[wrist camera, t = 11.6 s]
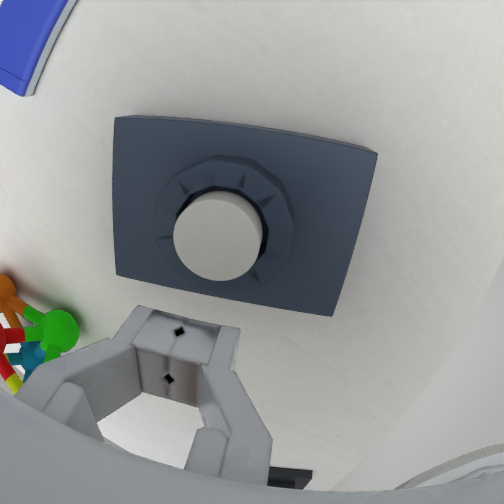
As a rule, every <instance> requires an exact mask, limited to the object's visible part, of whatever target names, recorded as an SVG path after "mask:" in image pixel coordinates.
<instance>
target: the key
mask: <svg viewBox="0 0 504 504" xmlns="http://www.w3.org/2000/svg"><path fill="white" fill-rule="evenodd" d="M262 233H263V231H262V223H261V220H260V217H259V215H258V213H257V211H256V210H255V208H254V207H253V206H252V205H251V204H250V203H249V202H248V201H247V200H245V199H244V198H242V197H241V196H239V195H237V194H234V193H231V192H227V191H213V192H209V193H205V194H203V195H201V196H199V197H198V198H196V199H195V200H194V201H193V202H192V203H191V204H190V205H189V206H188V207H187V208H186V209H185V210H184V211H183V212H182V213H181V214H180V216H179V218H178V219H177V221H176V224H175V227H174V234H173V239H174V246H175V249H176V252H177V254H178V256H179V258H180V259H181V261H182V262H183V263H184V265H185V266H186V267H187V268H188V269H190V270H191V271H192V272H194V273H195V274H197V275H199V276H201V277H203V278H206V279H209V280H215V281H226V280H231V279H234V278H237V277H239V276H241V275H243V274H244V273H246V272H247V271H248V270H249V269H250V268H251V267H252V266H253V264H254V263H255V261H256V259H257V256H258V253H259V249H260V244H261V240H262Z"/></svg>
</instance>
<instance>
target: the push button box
mask: <svg viewBox="0 0 504 504" xmlns="http://www.w3.org/2000/svg"><path fill="white" fill-rule="evenodd" d="M377 156H378V153H376V152H374V151H372V150H371V149H369V148H366V147H362V146H358V145H354V144H350V143H345V142H341V141H336V140H332V139H327V138H322V137H317V136H312V135H307V134H302V133H296V132H291V131H285V130H279V129H273V128H266V127H260V126H253V125H245V124H238V123H230V122H221V121H212V120H201V119H190V118H177V117H161V116H139V115H131V116H122V117H116V118H115V122H114V139H113V172H112V199H113V233H114V251H115V265H116V275H118V276H122V277H126V278H131V279H135V280H139V281H144V282H148V283H153V284H157V285H162V286H167V287H171V288H176V289H181V290H185V291H190V292H195V293H200V294H205V295H210V296H215V297H220V298H225V299H231V300H236V301H241V302H247V303H252V304H257V305H263V306H269V307H274V308H280V309H286V310H292V311H298V312H304V313H310V314H317V315H323V316H330V317H332V316H333V313H334V310H335V307H336V304H337V301H338V298H339V295H340V292H341V289H342V286H343V283H344V280H345V277H346V273H347V270H348V267H349V264H350V260H351V257H352V254H353V250H354V247H355V243H356V240H357V236H358V233H359V229H360V225H361V222H362V218H363V214H364V210H365V207H366V203H367V199H368V195H369V191H370V187H371V182H372V178H373V174H374V170H375V165H376V161H377ZM213 191H227V192H231V193H234V194H237V195H239V196H241V197H242V198H244V199H245V200H247V201H248V202H249V203H250V204H251V205H252V206H253V207H254V208H255V210H256V211H257V213H258V215H259V217H260V220H261V223H262V231H263V233H262V240H261V244H260V249H259V253H258V256H257V259H256V261H255V263H254V264H253V266H252V267H251V268H250V269H249V270H248V271H247V272H246V273H244V274H243V275H241V276H239V277H237V278H234V279H231V280H226V281H215V280H209V279H206V278H203V277H201V276H199V275H197V274H195V273H194V272H192V271H191V270H190V269H188V268H187V267H186V266H185V265H184V263H183V262H182V261H181V259H180V258H179V256H178V254H177V252H176V249H175V246H174V239H173V234H174V227H175V224H176V221H177V219H178V218H179V216H180V214H181V213H182V212H183V211H184V210H185V209H186V208H187V207H188V206H189V205H190V204H191V203H192V202H193V201H194V200H195V199H196V198H198V197H199V196H201V195H203V194H205V193H209V192H213Z"/></svg>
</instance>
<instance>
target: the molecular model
mask: <svg viewBox="0 0 504 504" xmlns="http://www.w3.org/2000/svg"><path fill="white" fill-rule="evenodd" d="M15 312H17V313H18V314H20V315H21V316H23V317H25V318H26V319H28V320H29V321H31V322H32V323H34V324H35V325H37V326H30V327H23V326H22V324H21V323H20V321H19V319H18V317H17V315H16V313H15ZM0 313H4V315H5V317H6V319H7V321H8V323H9V325H10V327H11V328H5V329H3V327H2V324H1V323H0V374H1V375H2V377H3V378H4V380H5V381H6V383H7V384H8V386H9V387H10V388H11V390H12V391H13V392H14V394H16V393H17V392H18V390H19V389H20V388H21V386H22V385H23V384H24V383H25V381H26V380H27V379H28V378H29V376H30V375H31V374H32V373H33V371H34V370H35V369H36V368H37V366H38V365H41V364H43V363H46V362H48V361H51V360H53V359H56V358H58V357H60V353H61V352H66V351H69V350H70V349H71V348H73V347H74V346H75V344H76V342H77V340H78V338H79V327H78V325H77V322H76V320H75V319H74V318H73V317H72V315H71V314H70V313H68V312H65V311H63V310H52V311H50V312H48V313H46V314H45V315H44V314H43V313H41V312H39V311H38V310H36V309H34V308H33V307H31V306H30V305H28V304H26V303H25V302H23V301H22V300H20V299H19V298H17V297H16V288H15V286H14V283H13V282H12V280H11V279H10V278H9V277H8V276H6V275H4V274H0ZM40 340H41V342H39V341H40ZM13 343H20V344H21V348H20V350H19V353H3V352H4V349H5V346H6V344H13ZM11 365H21V366H22V367H23V368H24V370H25V375H24V379H23V382H22V381H21V379H20V378H19V376H18V375H17V373H16V372H15V371H14V369H13V368H12V366H11Z"/></svg>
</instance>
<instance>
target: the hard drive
mask: <svg viewBox="0 0 504 504" xmlns="http://www.w3.org/2000/svg"><path fill="white" fill-rule="evenodd" d="M76 1H77V0H3V2H2V4H1V6H0V84H1V85H2V86H4V87H6V88H7V89H9V90H10V91H12V92H14V93H15V94H17V95H19V96H22V97H24V96H32V95H33V92H34V89H35V86H36V83H37V81H38V79H39V77H40V74H41V72H42V69H43V67H44V64H45V62H46V60H47V57H48V55H49V53H50V51H51V48H52V46H53V44H54V42H55V40H56V38H57V36H58V34H59V32H60V30H61V28H62V26H63V24H64V22H65V20H66V18H67V17H68V15H69V13H70V11H71V9H72V7H73V6H74V4H75V2H76Z"/></svg>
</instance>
